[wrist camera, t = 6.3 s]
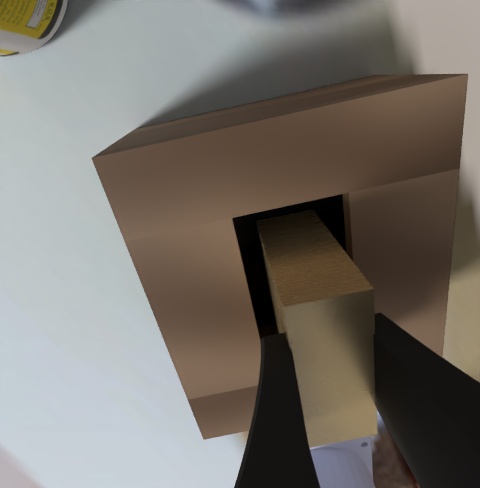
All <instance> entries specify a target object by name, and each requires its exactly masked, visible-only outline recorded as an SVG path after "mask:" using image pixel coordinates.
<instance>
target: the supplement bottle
mask: <svg viewBox="0 0 480 488" xmlns="http://www.w3.org/2000/svg"><path fill="white" fill-rule="evenodd" d="M67 3H68V0H0V56H18V55H23V54H26V53H29V52H32V51H34V50H36V49H38V48H40V47H41V46H42V45H44V44H45V43H46V42H47V41H48V40H49V39H50V38H51V37H52V36H53V35H54V34H55V32H56V31H57V29H58V28H59V26H60V24H61V22H62V19H63V17H64V14H65V11H66V7H67Z"/></svg>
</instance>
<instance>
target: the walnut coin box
mask: <svg viewBox="0 0 480 488" xmlns="http://www.w3.org/2000/svg"><path fill="white" fill-rule="evenodd" d="M467 80H468V74H427V75H374V76H369V77H365V78H361V79H356V80H352V81H347V82H343V83H338V84H334V85H329V86H325V87H321V88H316V89H312V90H307V91H303V92H298V93H294V94H289V95H285V96H281V97H276V98H272V99H267V100H263V101H258V102H254V103H250V104H245V105H241V106H236V107H232V108H227V109H223V110H218V111H214V112H210V113H205V114H201V115H196V116H192V117H187V118H183V119H178V120H174V121H170V122H165V123H161V124H156V125H152V126H147V127H143V128H139V129H135V130H133V131H132V132H130V133H129V134H127V135H126V136H124V137H123V138H121V139H120V140H118V141H117V142H115V143H114V144H112V145H111V146H109V147H108V148H106V149H105V150H103V151H102V152H100V153H99V154H97V155H96V156H94V157H93V158H92V160H93V163H94V165H95V168H96V170H97V173H98V176H99V178H100V181H101V183H102V186H103V188H104V191H105V193H106V196H107V198H108V201H109V203H110V206H111V208H112V211H113V213H114V216H115V218H116V221H117V223H118V226H119V228H120V231H121V233H122V236H123V238H124V241H125V243H126V246H127V248H128V251H129V253H130V256H131V258H132V261H133V263H134V266H135V268H136V271H137V273H138V276H139V278H140V281H141V283H142V286H143V288H144V291H145V294H146V296H147V299H148V301H149V304H150V306H151V309H152V311H153V314H154V316H155V319H156V321H157V324H158V326H159V329H160V331H161V334H162V336H163V339H164V341H165V344H166V346H167V349H168V351H169V354H170V356H171V359H172V361H173V364H174V366H175V369H176V371H177V374H178V376H179V379H180V381H181V384H182V386H183V389H184V391H185V394H186V396H187V399H188V401H189V404H190V407H191V409H192V412H193V414H194V417H195V419H196V422H197V424H198V427H199V429H200V432H201V434H202V437H203V439H209V438H214V437H219V436H224V435H229V434H234V433H239V432H244V431H249V430H250V426H251V421H252V417H253V412H254V407H255V401H256V395H257V389H258V382H259V374H260V363H261V344H260V341H261V339H262V338H263V337H265V336H270V335H275V334H278V332H277V327H276V324H273V325H268V326H263V327H257V322H256V318H255V314H254V309H253V305H252V301H251V296H250V292H249V288H248V283H247V279H246V275H245V270H244V266H243V262H242V257H241V253H240V249H239V244H238V240H237V235H236V231H235V227H234V222H233V218H234V217H239V216H243V215H248V214H253V213H257V212H262V211H266V210H271V209H276V208H280V207H285V206H289V205H294V204H299V203H303V202H308V201H312V200H317V199H322V198H326V197H331V196H335V195H340V194H343V209H344V223H345V238H346V252H347V255H348V256H349V257H350V259H351V260H352V261H353V262H354V264H355V265H356V266H357V268H358V269H359V270H360V271H361V273H362V274H363V275H364V277H365V278H366V279H367V281H368V282H369V283H370V284H371V286H372V287H373V288H374V314H375V313H382V314H383V315H385V316H386V317H388V318H389V319H390V320H392V321H393V322H394V323H396V324H397V325H398V326H400V327H401V328H402V329H404V330H405V331H406V332H408V333H409V334H410V335H412V336H413V337H414V338H416V339H417V340H418V341H420V342H421V343H423V344H424V345H425V346H427V347H428V348H429V349H431V350H432V351H434V352H435V353H436V354H438V355H439V356H441V357H443V346H444V335H445V324H446V313H447V301H448V290H449V279H450V268H451V257H452V246H453V235H454V224H455V213H456V202H457V191H458V180H459V169H460V157H461V146H462V135H463V124H464V123H463V122H464V113H465V102H466V91H467Z"/></svg>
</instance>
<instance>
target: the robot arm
mask: <svg viewBox="0 0 480 488" xmlns="http://www.w3.org/2000/svg"><path fill="white" fill-rule="evenodd" d="M374 316H375V334H373V342H374V370H375V399H376V408H377V410H378V412H379V414H380V416H381V417H382V419H383V421H384V423H385V425H386V427H387V428H388V430H389V432H390V434H391V436H392V438H393V439H394V441H395V443H396V445H397V447H398V448H399V450H400V452H401V454H402V456H403V457H404V459H405V461H406V463H407V465H408V466H409V468H410V470H411V472H412V474H413V475H414V477H415V479H416V481H417V483H418V485H419V486H420V488H480V383H479V382H478V381H476V380H475V379H473V378H472V377H470V376H469V375H467V374H466V373H464V372H463V371H461V370H460V369H458V368H457V367H455V366H454V365H452V364H451V363H449V362H448V361H447V360H445V359H444V358H442V357H441V356H439V355H438V354H436V353H435V352H434V351H432V350H431V349H429V348H428V347H427V346H425V345H424V344H423V343H421V342H420V341H418V340H417V339H416V338H414V337H413V336H412V335H410V334H409V333H408V332H406V331H405V330H404V329H402V328H401V327H400V326H398V325H397V324H396V323H394V322H393V321H392V320H390V319H389V318H388V317H386V316H385V315H383V314H382V313H375V314H374ZM260 344H261V363H260V374H259V382H258V389H257V395H256V401H255V407H254V412H253V417H252V421H251V426H250V430H249V435H248V439H247V444H246V448H245V452H244V455H243V459H242V463H241V466H240V470H239V473H238V477H237V480H236V483H235V487H234V488H375V485H374V483H373V467H372V444H371V436H367V437H362V438H357V439H352V440H347V441H342V442H337V443H332V444H327V445H322V446H317V447H312V448H309V444H308V438H307V432H306V426H305V421H304V415H303V409H302V404H301V398H300V393H299V387H298V381H297V376H296V370H295V365H294V359H293V353H292V351H290V348H289V345H288V342H287V339H286V336H285V333H280V334H275V335H270V336H265V337H263V338H262V339H261V341H260Z"/></svg>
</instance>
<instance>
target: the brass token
mask: <svg viewBox="0 0 480 488" xmlns="http://www.w3.org/2000/svg"><path fill="white" fill-rule="evenodd" d="M256 222H257V228H258V233H259V238H260V243H261V249H262V254H263V259H264V264H265V269H266V275H267V280H268V285H269V290H270V295H271V301H272V306H273V311H274V316H275V322H276V327H277V332H278V334H280V333H285V336H286V339H287V342H288V345H289V348H290V351H292V353H293V359H294V365H295V370H296V376H297V381H298V387H299V393H300V398H301V404H302V409H303V415H304V421H305V426H306V432H307V438H308V444H309V448H312V447H317V446H322V445H327V444H332V443H337V442H342V441H347V440H352V439H357V438H362V437H367V436H372V435H377V434H378V431H377V408H376V399H375V370H374V342H373V334H375V316H374V288H373V287H372V286H371V284H370V283H369V282H368V281H367V279H366V278H365V277H364V275H363V274H362V273H361V271H360V270H359V269H358V268H357V266H356V265H355V264H354V262H353V261H352V260H351V259H350V257H349V256H348V255H347V253H346V252H345V251H344V249H343V248H342V247H341V246H340V244H339V243H338V242H337V240H336V239H335V238H334V236H333V235H332V234H331V233H330V231H329V230H328V229H327V227H326V226H325V225H324V224H323V222H322V221H321V220H320V218H319V217H318V216H317V214H316V213H315V212H314V211H313V209H312V210H307V211H302V212H298V213H293V214H288V215H283V216H279V217H274V218H269V219H265V220H260V221H256Z"/></svg>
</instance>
